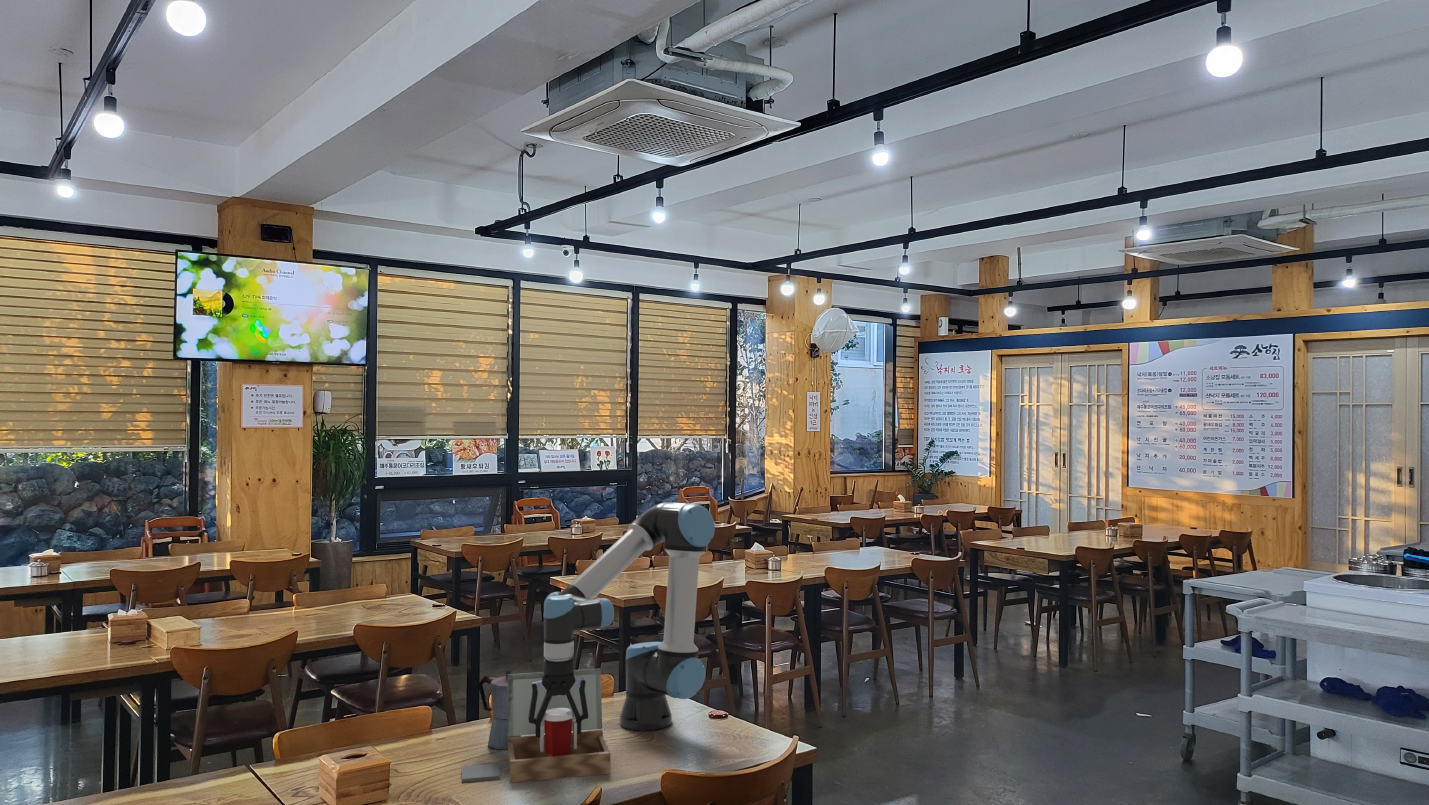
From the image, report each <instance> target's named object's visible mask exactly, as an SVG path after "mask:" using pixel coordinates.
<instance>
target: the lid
mask: <svg viewBox="0 0 1429 805" xmlns="http://www.w3.org/2000/svg"><path fill="white" fill-rule="evenodd" d="M601 673H602V668H588V669H585V668H584V669H574V677H575V678H578V679H581V678H584V679H585V681H586V684H585V689H584V690H585V696H586V703H587V710H588V718H587V719H584V720H582V722H581V732H583V731H595V730H602V729H603V714H602V713H603V712H602V711H603V710H602V709H603V707H602V706H603V704H602V674H601ZM543 676H544V671H543V672H542V671H540V672H527V673H526V672H524V673H511V674H508V736H520V735H521V736H534V735H535V724H533V723H529V720H528V716H529V710H530V704H531V697H532V691H533V690H532V685H531V683H532V682H533V681H535V682H538V681H541V680H542V678H543ZM546 692H547V690H546V689H545V687H544V686H543V685H542V686H541V687H540V690H539V691H538V696H537V702H536V709H535V715H534V717H535V718H536V717H537V715H538V712H539V710H540V707H541V705H542V702H543V700H544V697H545V694H546ZM570 693H571V695H572V698H573V700H574V702H575V705H576V707H577V709H578V712H579V714H582V706H581V700H580V693H579V688H578V687H577V684H576V683H574V685H573V686H572V688H571V689H570ZM553 708H568V709H571V711H572V714H573V715H574V713H573V710H572V708H571V706H570V703H569V701H568V699H567V696H566V694H565V695H557V696H553V695H552V698H551V700H550V702H549V704H548V707H547V709H546V711H547V710H549V709H553ZM573 720H576V718H575V715H574V716H573V718H572V732H573ZM542 722H543V725H544V735H545V723H544V719H542Z"/></svg>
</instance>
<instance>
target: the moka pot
mask: <svg viewBox="0 0 1429 805" xmlns="http://www.w3.org/2000/svg"><path fill="white" fill-rule="evenodd" d="M508 674H512V671H510V670H507V671H505V676H499V677H495V676H494V677H493V676H491V677H490V676H487V675H484V677H482V679H480V681H479V682H478V690H479V694H480V698H481V700H482V703H481V704H482V705H483V710H484V711H487V712H492V720H491V727H490V730H489V736H488V741H487V745H488V746H489V747H490V748H491V749H494V750H495V749H496V750H505V751H506V750H508ZM485 683H486V684H487V685H490V694H491V707H490V706H488V704H487V700H486V695H485V690H484V689H485V688H484V686H483V685H484V684H485ZM512 737H522V735H520V736H512Z"/></svg>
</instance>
